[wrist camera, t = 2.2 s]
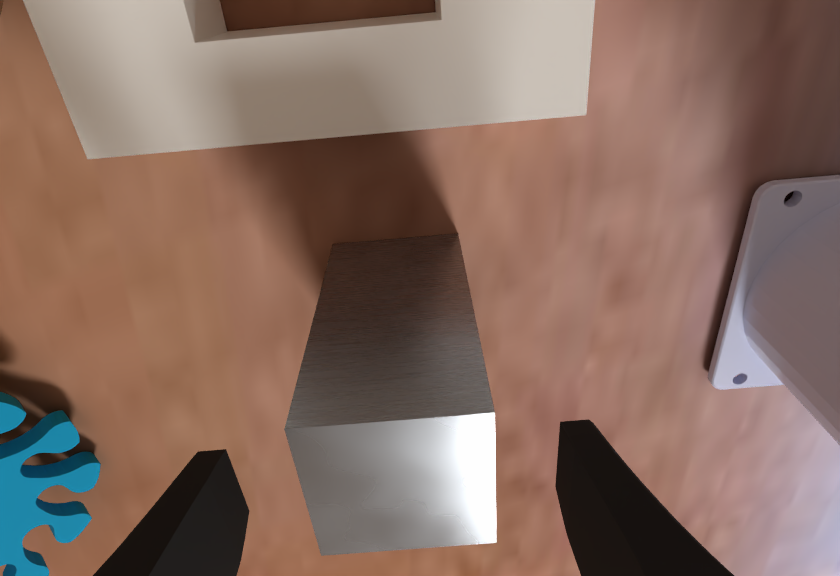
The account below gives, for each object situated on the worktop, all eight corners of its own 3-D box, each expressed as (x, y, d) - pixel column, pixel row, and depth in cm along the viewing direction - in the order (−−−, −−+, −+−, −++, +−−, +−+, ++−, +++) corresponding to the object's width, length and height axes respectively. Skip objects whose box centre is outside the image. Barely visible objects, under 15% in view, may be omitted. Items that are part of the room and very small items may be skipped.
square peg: (458, 233, 17) (494, 413, 10) (463, 335, 19) (496, 542, 12) (332, 244, 17) (284, 429, 10) (351, 344, 19) (321, 555, 12)
